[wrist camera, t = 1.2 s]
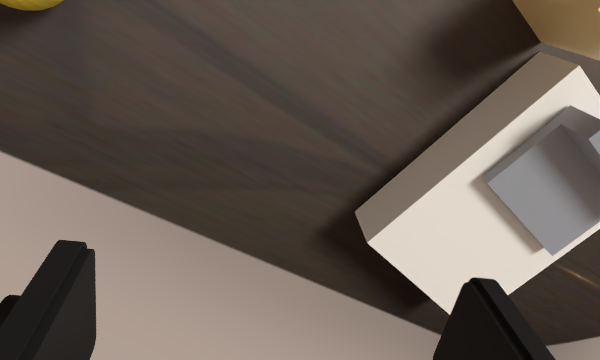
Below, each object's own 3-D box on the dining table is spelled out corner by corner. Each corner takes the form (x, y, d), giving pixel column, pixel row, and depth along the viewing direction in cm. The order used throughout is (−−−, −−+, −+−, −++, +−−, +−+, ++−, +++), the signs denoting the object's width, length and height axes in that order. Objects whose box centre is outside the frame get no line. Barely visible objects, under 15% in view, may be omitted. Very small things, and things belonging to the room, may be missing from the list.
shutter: (570, 105, 33) (608, 123, 30) (628, 188, 37) (669, 213, 34) (481, 177, 35) (507, 202, 32) (545, 249, 39) (575, 279, 36)
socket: (539, 51, 37) (579, 65, 32) (615, 160, 42) (659, 185, 38) (354, 211, 42) (366, 242, 37) (443, 291, 47) (463, 326, 43)
